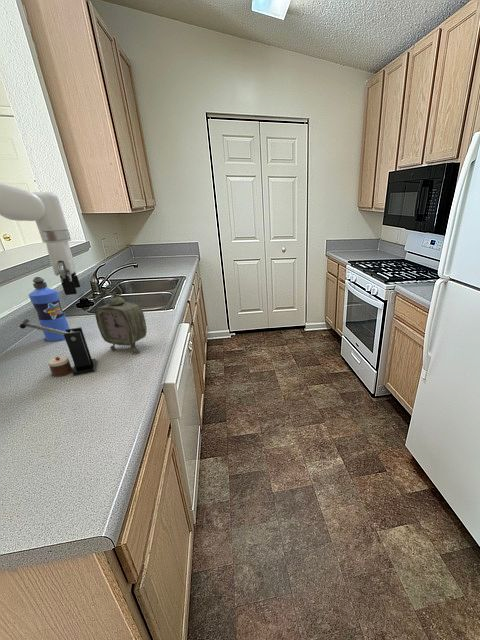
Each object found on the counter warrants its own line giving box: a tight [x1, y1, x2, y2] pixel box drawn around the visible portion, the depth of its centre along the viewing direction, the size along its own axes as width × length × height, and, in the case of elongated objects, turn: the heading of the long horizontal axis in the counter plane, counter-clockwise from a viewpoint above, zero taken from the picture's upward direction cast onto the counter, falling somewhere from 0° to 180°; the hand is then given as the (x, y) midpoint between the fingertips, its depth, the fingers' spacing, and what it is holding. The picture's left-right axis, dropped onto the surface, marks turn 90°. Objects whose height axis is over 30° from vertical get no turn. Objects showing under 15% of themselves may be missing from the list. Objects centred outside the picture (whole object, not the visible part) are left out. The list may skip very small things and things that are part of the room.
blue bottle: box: [28, 276, 71, 342], centre depth 134 cm, size 9×9×25 cm
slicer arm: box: [19, 318, 76, 335], centre depth 105 cm, size 15×5×2 cm, turn 115°
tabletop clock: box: [94, 283, 148, 354], centre depth 122 cm, size 14×9×25 cm, turn 74°
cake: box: [47, 355, 73, 377], centre depth 110 cm, size 6×6×6 cm
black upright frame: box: [64, 326, 97, 376], centre depth 111 cm, size 6×9×14 cm, turn 25°
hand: (73, 290), depth 111 cm, fingers open, 9 cm apart
